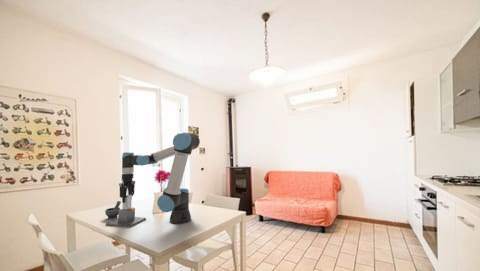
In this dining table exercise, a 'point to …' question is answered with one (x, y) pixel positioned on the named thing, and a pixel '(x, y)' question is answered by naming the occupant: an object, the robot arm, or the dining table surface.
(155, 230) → the dining table surface
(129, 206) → the column
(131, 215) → the stand
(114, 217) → the mortar and pestle
